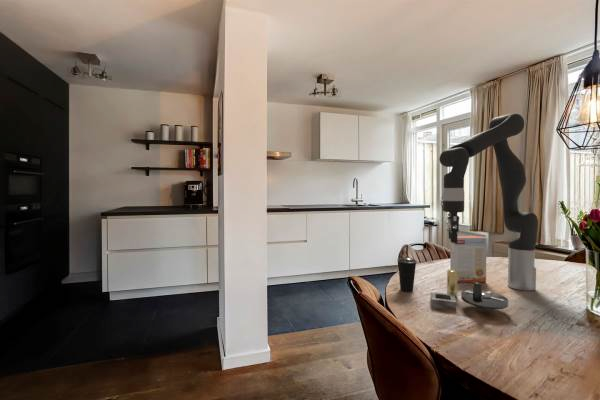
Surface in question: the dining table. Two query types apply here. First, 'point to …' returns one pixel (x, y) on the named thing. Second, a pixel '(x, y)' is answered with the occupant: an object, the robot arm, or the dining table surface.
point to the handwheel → (484, 298)
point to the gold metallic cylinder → (452, 282)
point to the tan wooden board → (463, 308)
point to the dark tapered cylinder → (406, 272)
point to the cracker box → (469, 258)
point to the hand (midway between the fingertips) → (452, 240)
